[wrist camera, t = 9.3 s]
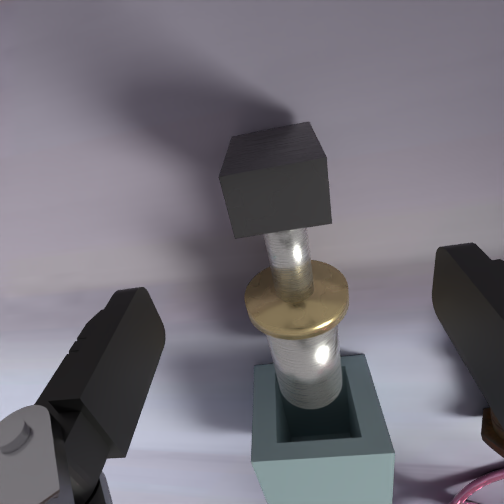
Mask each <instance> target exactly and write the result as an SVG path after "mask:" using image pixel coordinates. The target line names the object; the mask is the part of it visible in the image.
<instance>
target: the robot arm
mask: <svg viewBox="0 0 504 504" xmlns="http://www.w3.org/2000/svg"><path fill="white" fill-rule="evenodd" d="M432 302H433V306H434V310H435V313H436V315H437V317H438V319H439V321H440V322H441V324H442V326H443V327H444V329H445V331H446V333H447V334H448V336H449V338H450V339H451V341H452V343H453V344H454V346H455V348H456V350H457V351H458V353H459V355H460V356H461V358H462V360H463V361H464V363H465V365H466V366H467V368H468V370H469V372H470V373H471V375H472V377H473V378H474V380H475V382H476V383H477V385H478V387H479V389H480V390H481V392H482V394H483V395H484V397H485V399H486V400H487V402H488V404H489V406H490V407H491V409H492V411H493V412H494V414H495V416H496V417H497V419H498V421H499V423H500V424H501V426H502V428H503V429H504V261H503V260H501V259H498V260H491V259H490V258H489V257H488V256H487V255H486V254H485V253H484V252H483V251H482V250H481V249H480V248H479V247H478V246H477V245H476V244H474V243H465V244H458V245H450V246H443V247H439V248H438V249H437V252H436V258H435V268H434V278H433V288H432ZM164 345H165V329H164V325H163V323H162V321H161V318H160V316H159V314H158V312H157V310H156V308H155V306H154V304H153V301H152V299H151V297H150V295H149V293H148V291H147V290H146V289H145V288H144V287H139V288H132V289H124V290H118V291H116V292H115V293H114V294H113V296H112V297H111V299H110V301H109V302H108V304H107V305H106V307H105V309H104V310H101V311H100V312H99V313H97V314H96V315H95V316H94V317H93V318H92V319H91V320H90V321H89V322H88V323H87V324H86V325H85V327H84V328H83V330H82V332H81V333H80V335H79V336H78V338H77V341H75V342H74V344H73V346H72V347H71V349H70V350H69V354H67V355H66V356H65V358H64V359H63V361H62V363H61V364H60V366H59V367H58V369H57V370H56V372H55V373H54V375H53V377H52V378H51V380H50V381H49V383H48V384H47V386H46V387H45V389H44V391H43V392H42V394H41V395H40V397H39V398H38V400H37V401H36V403H35V404H34V405H31V406H27V407H24V408H21V409H19V410H17V411H15V412H13V413H12V414H10V415H9V416H7V417H6V418H4V419H3V420H2V421H1V422H0V504H113V503H112V499H111V495H110V491H109V487H108V483H107V480H106V477H105V475H104V473H103V472H102V469H103V467H104V464H105V462H106V459H107V458H125V457H126V454H127V452H128V449H129V446H130V443H131V440H132V437H133V434H134V431H135V429H136V426H137V423H138V420H139V417H140V414H141V411H142V408H143V405H144V403H145V400H146V397H147V394H148V391H149V388H150V385H151V382H152V380H153V377H154V374H155V371H156V368H157V365H158V362H159V359H160V356H161V354H162V351H163V348H164Z"/></svg>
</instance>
